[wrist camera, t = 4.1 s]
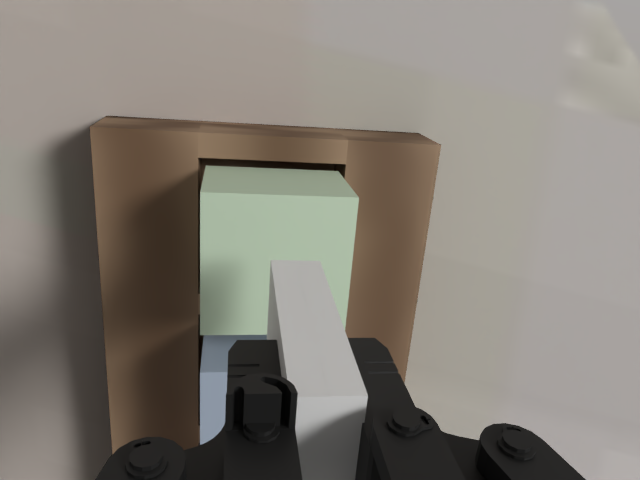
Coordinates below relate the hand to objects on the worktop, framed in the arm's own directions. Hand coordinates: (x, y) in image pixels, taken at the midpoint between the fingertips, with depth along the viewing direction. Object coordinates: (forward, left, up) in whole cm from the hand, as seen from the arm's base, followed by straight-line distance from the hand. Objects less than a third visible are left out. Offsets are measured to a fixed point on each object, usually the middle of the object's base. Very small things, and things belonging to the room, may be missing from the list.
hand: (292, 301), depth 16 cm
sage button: (0, 0, -7) cm, 7 cm away
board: (0, -7, -10) cm, 12 cm away
